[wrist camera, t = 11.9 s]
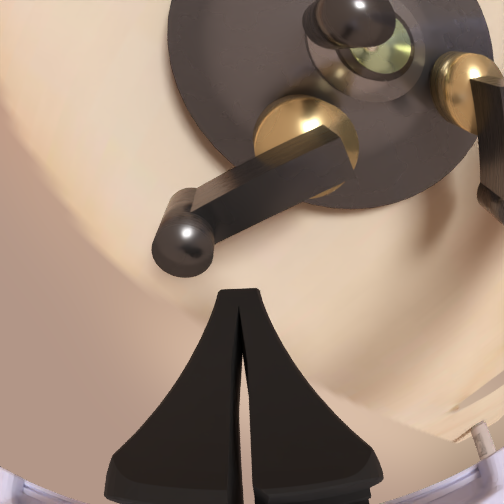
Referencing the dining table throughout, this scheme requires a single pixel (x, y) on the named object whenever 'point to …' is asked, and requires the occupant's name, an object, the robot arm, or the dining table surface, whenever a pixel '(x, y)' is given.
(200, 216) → the knob
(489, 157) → the knob
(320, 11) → the knob
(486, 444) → the energy drink can
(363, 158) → the levelling plate
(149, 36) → the dining table surface
